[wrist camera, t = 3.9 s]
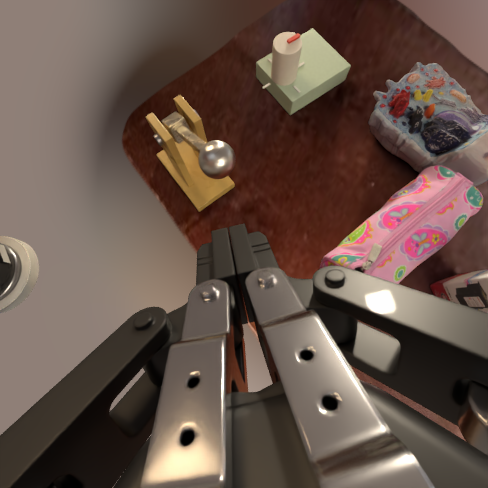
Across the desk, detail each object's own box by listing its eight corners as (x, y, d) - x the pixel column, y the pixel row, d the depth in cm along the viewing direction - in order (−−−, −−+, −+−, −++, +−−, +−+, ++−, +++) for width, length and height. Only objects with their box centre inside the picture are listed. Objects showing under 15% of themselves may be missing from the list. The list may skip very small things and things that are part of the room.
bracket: (235, 186, 43) (227, 136, 31) (199, 212, 42) (176, 170, 30) (193, 135, 46) (170, 70, 33) (158, 158, 45) (121, 99, 32)
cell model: (511, 179, 30) (373, 77, 35) (447, 214, 40) (346, 132, 45) (579, 110, 32) (439, 21, 36) (501, 160, 42) (399, 87, 47)
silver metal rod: (247, 171, 27) (234, 139, 24) (217, 192, 26) (201, 162, 23) (191, 129, 36) (177, 103, 33) (168, 144, 35) (153, 119, 33)
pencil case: (349, 317, 38) (378, 319, 29) (305, 267, 39) (320, 254, 31) (454, 225, 40) (510, 200, 31) (408, 182, 42) (449, 147, 33)
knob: (281, 90, 44) (285, 57, 38) (265, 73, 44) (267, 38, 39) (301, 77, 44) (308, 43, 38) (286, 61, 45) (290, 25, 39)
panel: (279, 122, 46) (281, 108, 43) (245, 83, 48) (245, 67, 45) (344, 80, 47) (351, 64, 44) (309, 44, 49) (312, 27, 46)
